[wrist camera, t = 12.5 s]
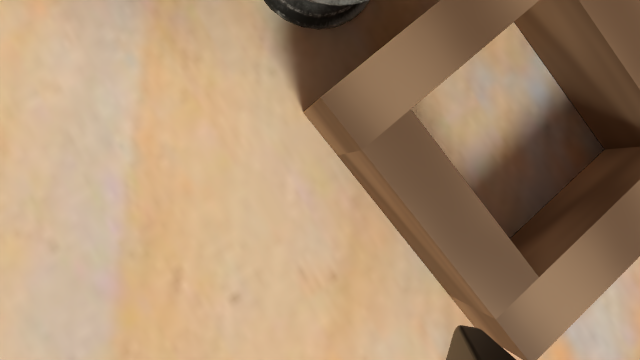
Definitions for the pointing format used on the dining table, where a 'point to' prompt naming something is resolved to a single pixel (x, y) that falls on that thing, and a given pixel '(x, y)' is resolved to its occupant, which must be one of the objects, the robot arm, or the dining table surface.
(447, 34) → the holder
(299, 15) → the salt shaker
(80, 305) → the dining table surface
